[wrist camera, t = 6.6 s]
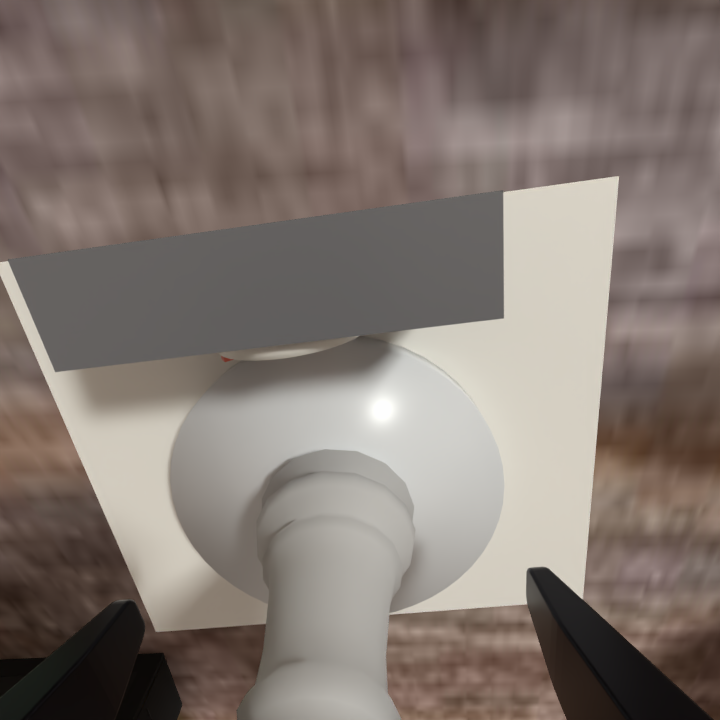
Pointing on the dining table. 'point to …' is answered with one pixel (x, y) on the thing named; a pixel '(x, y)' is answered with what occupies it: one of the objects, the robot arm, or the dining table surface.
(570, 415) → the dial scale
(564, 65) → the dining table surface
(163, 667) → the digital camera
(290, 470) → the rook chess piece
